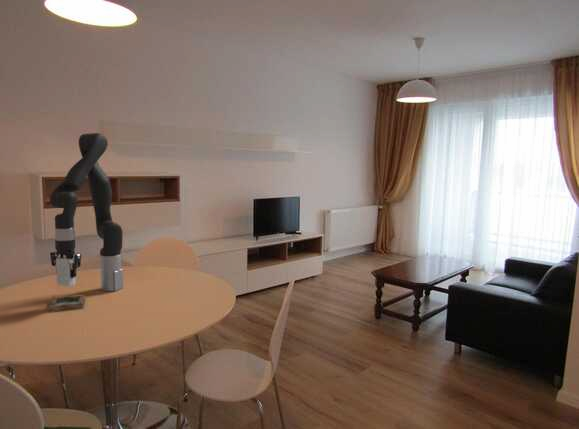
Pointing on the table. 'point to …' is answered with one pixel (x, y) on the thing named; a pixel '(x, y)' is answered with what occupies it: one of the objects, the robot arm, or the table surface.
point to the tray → (67, 303)
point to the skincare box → (64, 272)
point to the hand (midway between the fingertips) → (66, 276)
